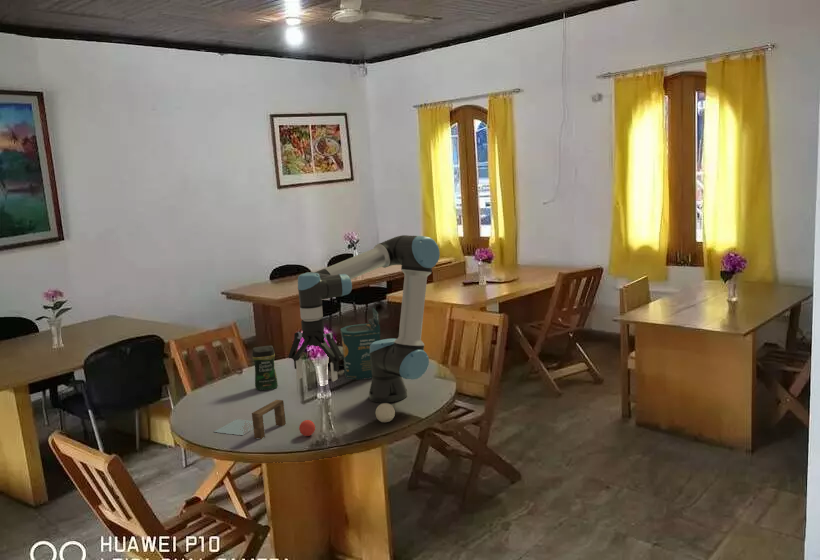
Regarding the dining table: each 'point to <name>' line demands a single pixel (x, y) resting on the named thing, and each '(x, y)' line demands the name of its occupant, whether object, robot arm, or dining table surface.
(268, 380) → the coffee jar
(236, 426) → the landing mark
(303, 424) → the ball
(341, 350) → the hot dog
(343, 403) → the dining table surface
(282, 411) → the bridge
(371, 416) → the dining table surface
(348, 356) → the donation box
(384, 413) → the baseball
